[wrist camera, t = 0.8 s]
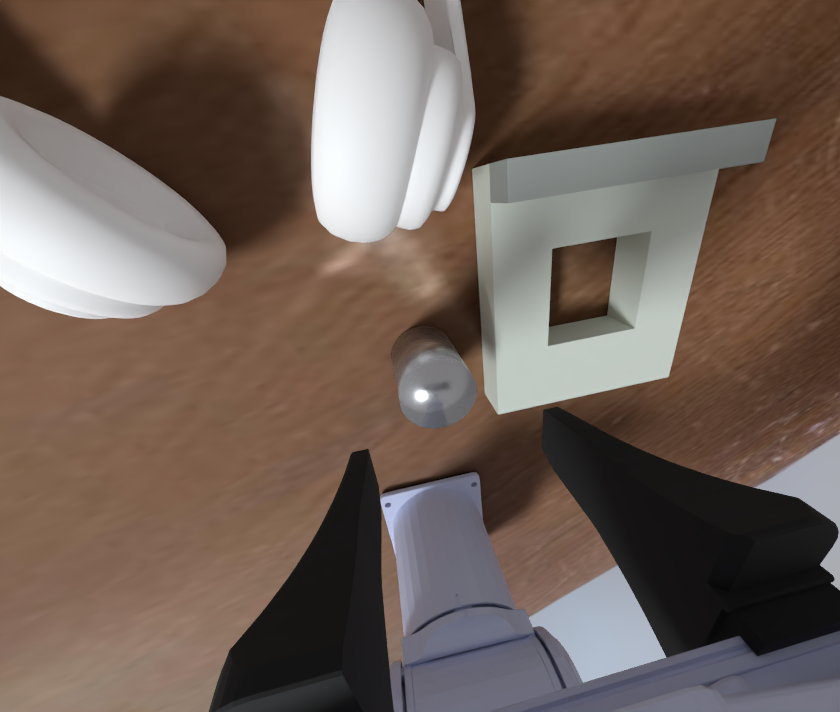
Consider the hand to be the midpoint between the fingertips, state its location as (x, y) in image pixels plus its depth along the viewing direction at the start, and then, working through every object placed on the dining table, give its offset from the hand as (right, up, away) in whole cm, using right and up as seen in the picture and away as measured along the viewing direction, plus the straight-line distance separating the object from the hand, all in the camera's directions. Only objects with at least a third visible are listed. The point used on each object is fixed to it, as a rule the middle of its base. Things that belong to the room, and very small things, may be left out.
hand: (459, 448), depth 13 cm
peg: (-1, +4, +8) cm, 9 cm away
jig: (+8, +8, +7) cm, 14 cm away
